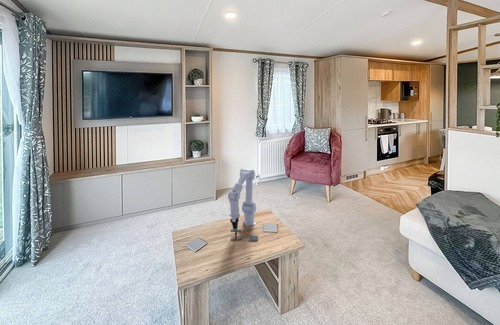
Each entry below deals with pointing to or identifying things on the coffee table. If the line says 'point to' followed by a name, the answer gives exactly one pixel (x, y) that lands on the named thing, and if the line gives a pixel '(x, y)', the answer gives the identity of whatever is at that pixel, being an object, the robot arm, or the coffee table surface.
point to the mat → (253, 238)
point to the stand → (236, 237)
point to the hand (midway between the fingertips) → (235, 226)
